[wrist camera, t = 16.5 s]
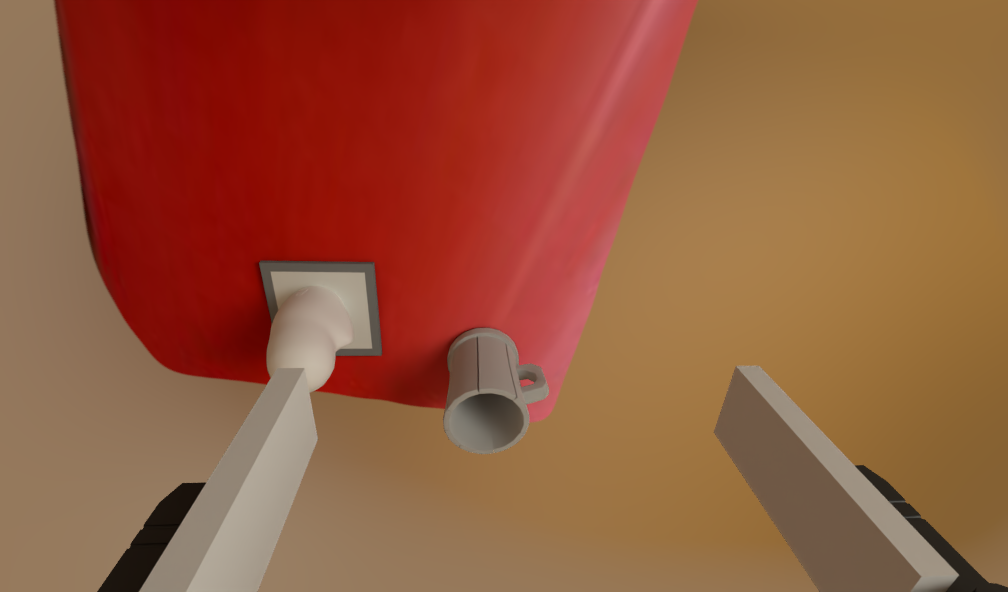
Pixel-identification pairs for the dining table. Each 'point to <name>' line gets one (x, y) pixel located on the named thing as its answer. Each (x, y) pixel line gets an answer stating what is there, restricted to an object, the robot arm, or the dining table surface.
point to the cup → (489, 392)
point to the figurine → (309, 334)
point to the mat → (343, 279)
